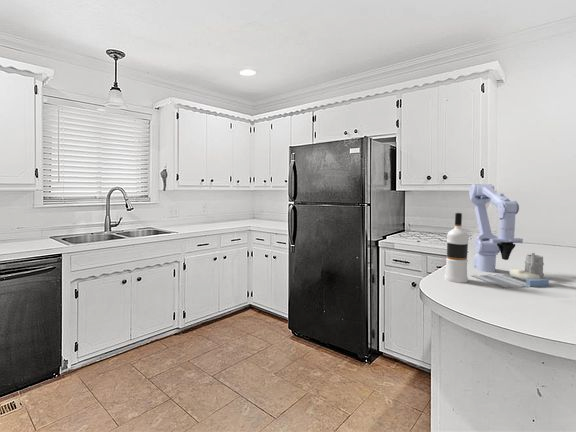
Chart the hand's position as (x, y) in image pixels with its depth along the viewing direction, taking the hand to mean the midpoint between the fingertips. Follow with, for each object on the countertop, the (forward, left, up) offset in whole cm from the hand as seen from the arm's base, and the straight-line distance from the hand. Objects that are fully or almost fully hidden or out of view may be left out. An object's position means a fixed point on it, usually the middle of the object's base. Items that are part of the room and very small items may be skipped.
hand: (505, 259), depth 152 cm
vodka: (0, -23, -10) cm, 25 cm away
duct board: (+4, -1, -9) cm, 10 cm away
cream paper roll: (+4, +4, -8) cm, 10 cm away
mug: (-3, +17, -10) cm, 20 cm away
